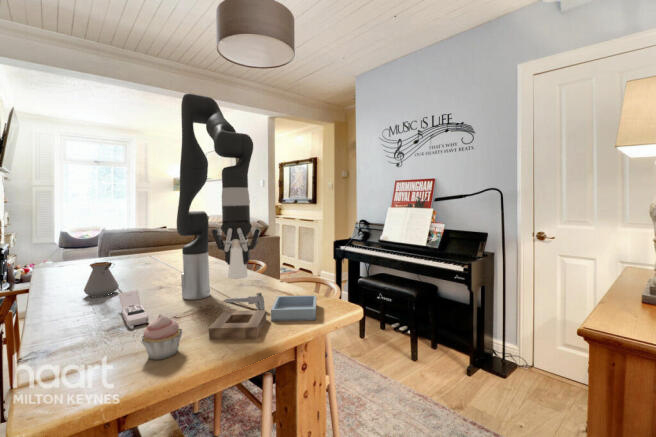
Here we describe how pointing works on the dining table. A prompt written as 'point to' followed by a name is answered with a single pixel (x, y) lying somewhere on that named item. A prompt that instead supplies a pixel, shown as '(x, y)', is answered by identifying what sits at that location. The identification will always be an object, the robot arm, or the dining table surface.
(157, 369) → the dining table surface
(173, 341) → the cupcake
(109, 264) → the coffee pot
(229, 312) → the socket block
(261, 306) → the caliper
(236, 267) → the pepper shaker
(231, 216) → the robot arm
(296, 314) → the tray
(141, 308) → the mobile phone
